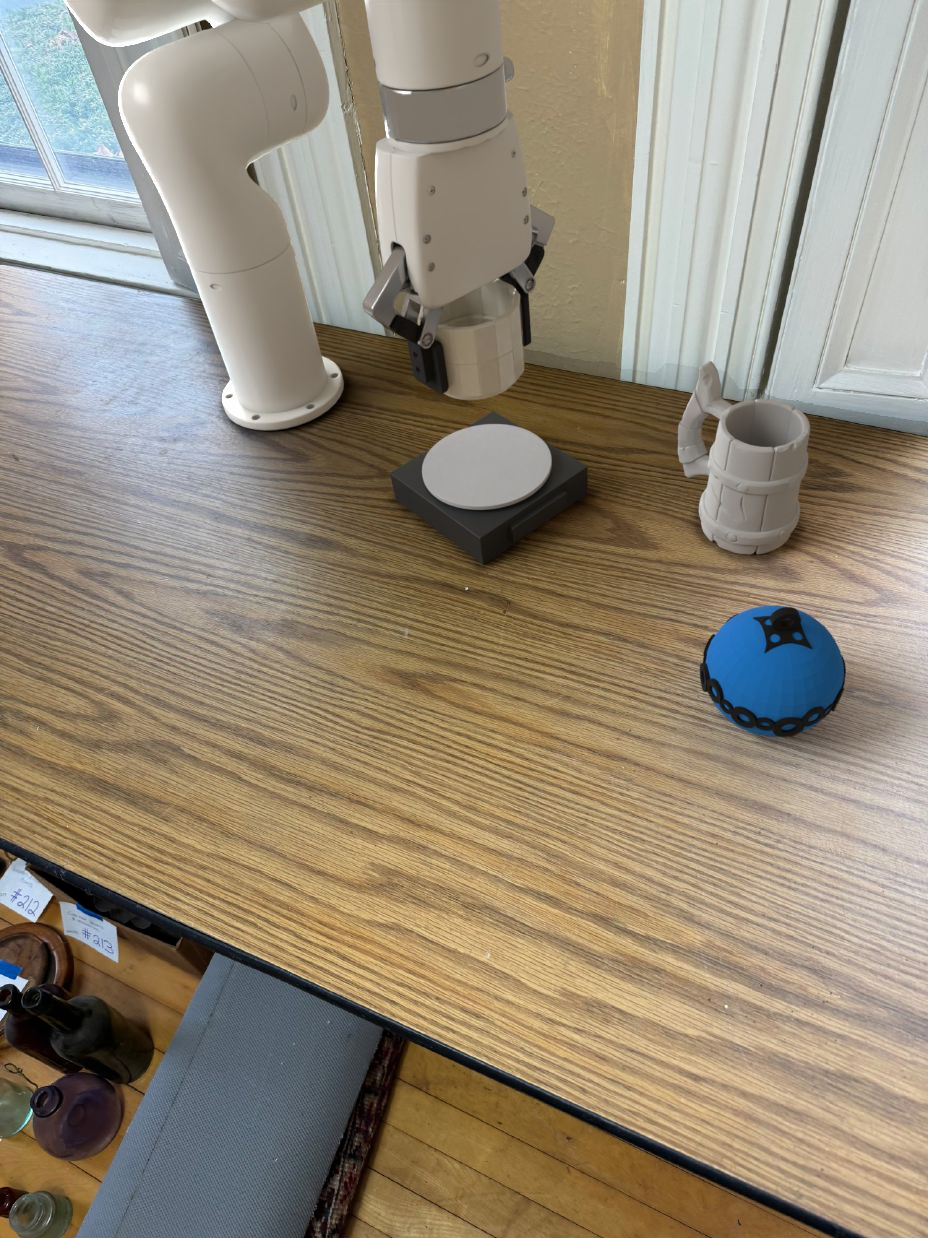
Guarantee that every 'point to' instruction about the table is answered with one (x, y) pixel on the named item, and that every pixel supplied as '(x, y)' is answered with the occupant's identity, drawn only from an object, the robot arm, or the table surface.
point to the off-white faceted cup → (482, 341)
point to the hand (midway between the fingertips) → (474, 360)
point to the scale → (489, 485)
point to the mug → (745, 466)
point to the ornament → (773, 671)
